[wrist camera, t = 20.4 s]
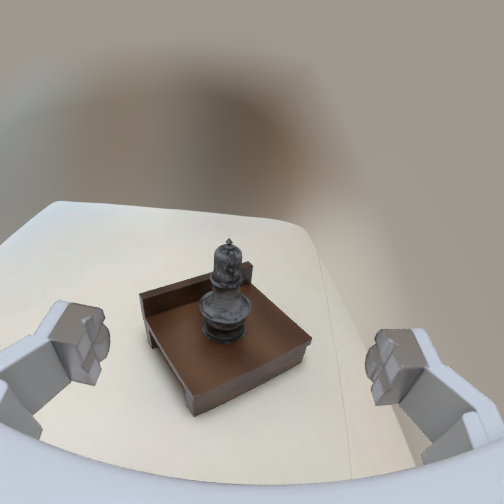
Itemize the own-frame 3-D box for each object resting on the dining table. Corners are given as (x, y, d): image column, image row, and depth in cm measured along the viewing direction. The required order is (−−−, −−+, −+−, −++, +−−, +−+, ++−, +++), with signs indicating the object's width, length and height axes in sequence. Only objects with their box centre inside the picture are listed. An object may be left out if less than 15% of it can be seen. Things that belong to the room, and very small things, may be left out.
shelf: (243, 304, 48) (248, 261, 44) (303, 363, 39) (318, 320, 35) (146, 339, 39) (138, 293, 35) (195, 419, 30) (192, 379, 26)
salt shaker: (197, 344, 34) (196, 252, 28) (200, 310, 39) (201, 223, 33) (249, 346, 34) (262, 256, 28) (247, 312, 39) (257, 226, 33)
